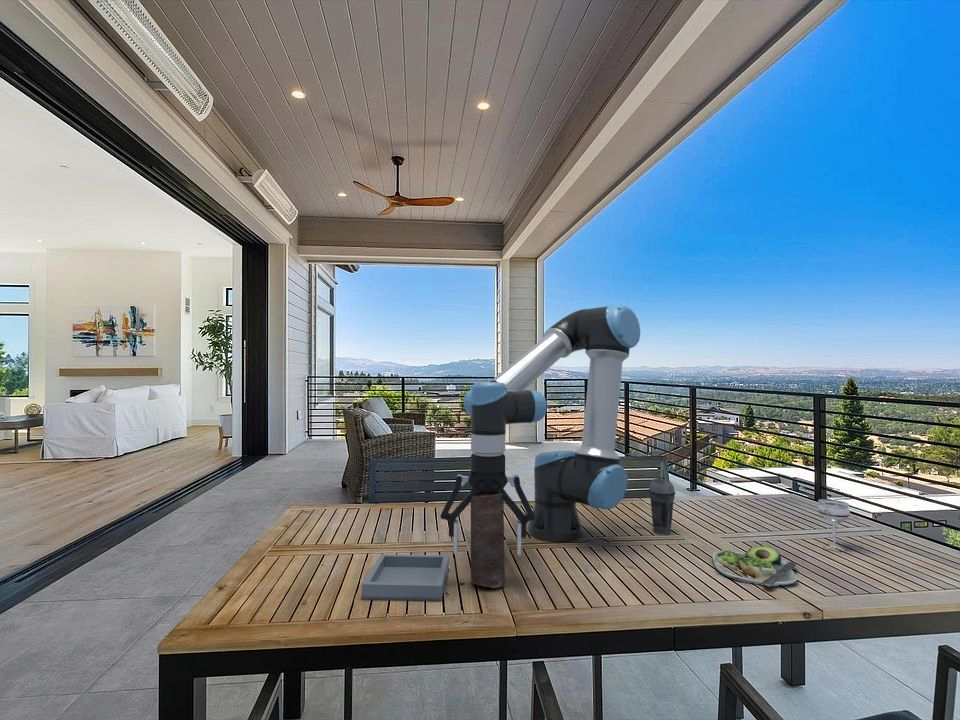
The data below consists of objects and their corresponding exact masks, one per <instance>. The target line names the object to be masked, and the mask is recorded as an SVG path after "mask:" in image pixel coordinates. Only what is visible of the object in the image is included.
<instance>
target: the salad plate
mask: <svg viewBox="0 0 960 720" xmlns="http://www.w3.org/2000/svg"><path fill="white" fill-rule="evenodd" d="M711 560H712V562H713V564H714V567H715V569H716V571H718V572H719V573H721V574H722V575H723V576H724V575H725V577H726V576H727V578H728V577H730V578H729V579H731V578H733V579H736V580H740V581H745V582H750V583H757V584H763V585H765V586H764V587H780V586H779V585H782V586H786V585H787V586H788V585H793V584H795V583H796V582H797V580H798V577H797V575H796V574H795V572H794V571H793V570H794V569H795V567H797V563H796V562H794V561H785V560H784V559H782V557H781V554H780V552H779V551H778V550H777V549H776V548H774V547H771V546H768V545H756V546H751V547H749V548H748V550H747V551H745V552H742V551H733V550H731V549H729V550H727V549H726V550H716V551H714V552H713V553H712V556H711ZM720 564H721V565H724V566H723V567H725V566H727V567H730V568H729V569H731V568H734V569H739V570H742V571H743V572H744V573H745V574H746V575H749V576H751V577H753V578H747V576H740V575H736V574H735V573H730V572H729V571H727V570H726V569H724V570H723V569H722V568H721V566H720ZM727 567H726V568H727ZM734 569H733V570H734ZM744 573H743V574H744ZM745 574H744V575H745ZM733 579H732V580H733ZM736 580H735V581H736ZM740 581H739V582H740ZM750 583H749V584H750Z"/></svg>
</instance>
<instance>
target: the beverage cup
mask: <svg viewBox="0 0 960 720" xmlns="http://www.w3.org/2000/svg"><path fill="white" fill-rule="evenodd" d="M663 463H664V462H663V461H661V462H660V477H656V478H654V479H653V480H651V482H650V484H649V486H648V487H649V488H648V492H649V493H648V495H649V499H650V510H651V519H652V528H653V533H655V534H657V535H661V536H662V535H663V536H669V535H671V531H672V522H673V521H672V520H673V512H674V511H673V510H674V500H675V497H676V496H675V495H676V491H675V487H674V485H673V483H672V482H671V481H670V480H669V479H667V478H665V477H664V476H663V472H664V470H663V469H664V468H663V467H664V465H663Z"/></svg>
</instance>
